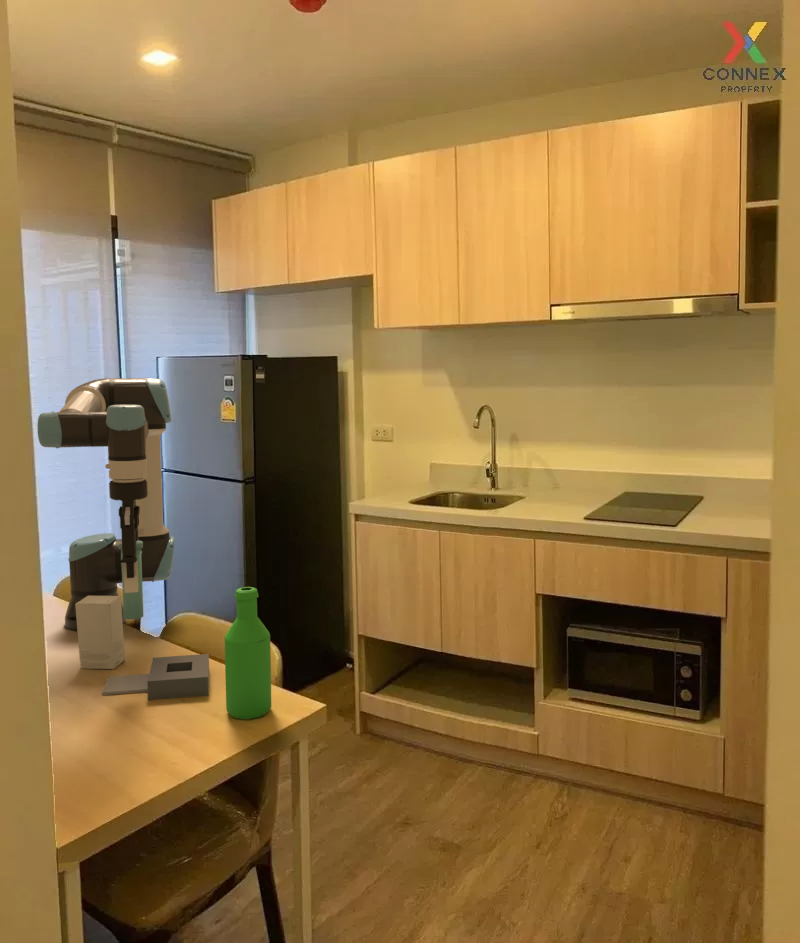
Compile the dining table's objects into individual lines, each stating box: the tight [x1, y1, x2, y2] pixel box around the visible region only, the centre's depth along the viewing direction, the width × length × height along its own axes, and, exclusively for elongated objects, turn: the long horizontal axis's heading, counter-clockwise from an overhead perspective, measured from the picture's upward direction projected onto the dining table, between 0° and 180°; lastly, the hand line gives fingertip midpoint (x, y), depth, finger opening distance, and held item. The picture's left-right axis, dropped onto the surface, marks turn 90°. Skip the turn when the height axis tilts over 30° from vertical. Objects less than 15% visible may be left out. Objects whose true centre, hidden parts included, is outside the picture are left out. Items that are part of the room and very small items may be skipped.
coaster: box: [101, 673, 149, 696], centre depth 175 cm, size 9×9×1 cm
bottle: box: [224, 586, 272, 720], centre depth 160 cm, size 9×9×25 cm
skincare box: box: [75, 595, 126, 670], centre depth 186 cm, size 8×7×16 cm
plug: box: [119, 540, 144, 621], centre depth 172 cm, size 5×5×16 cm
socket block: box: [147, 653, 210, 701], centre depth 175 cm, size 14×12×4 cm
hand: (132, 588), depth 172 cm, fingers closed on plug, 4 cm apart
